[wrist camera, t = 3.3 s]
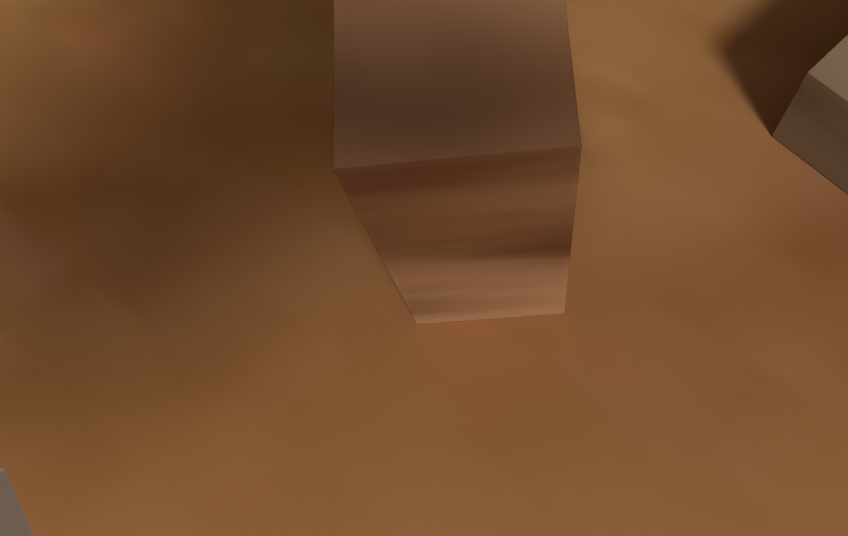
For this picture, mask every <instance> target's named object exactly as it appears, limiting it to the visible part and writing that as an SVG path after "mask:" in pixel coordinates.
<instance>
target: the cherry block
mask: <svg viewBox="0 0 848 536" xmlns="http://www.w3.org/2000/svg"><path fill="white" fill-rule="evenodd" d="M580 154H581V137H580V128H579V120H578V111H577V102H576V93H575V84H574V76H573V67H572V58H571V49H570V41H569V32H568V23H567V14H566V5H565V0H334V112H333V169H334V171H335V173H336V175H337V177H338V178H339V180H340V182H341V184H342V186H343V188H344V190H345V191H346V193H347V195H348V197H349V199H350V201H351V202H352V204H353V206H354V208H355V210H356V212H357V214H358V215H359V217H360V219H361V221H362V223H363V225H364V227H365V228H366V230H367V232H368V234H369V236H370V238H371V240H372V241H373V243H374V245H375V247H376V249H377V251H378V253H379V254H380V256H381V258H382V260H383V262H384V264H385V266H386V267H387V269H388V271H389V273H390V275H391V277H392V279H393V280H394V282H395V284H396V286H397V288H398V290H399V292H400V293H401V295H402V297H403V299H404V301H405V303H406V305H407V306H408V308H409V310H410V312H411V314H412V316H413V317H414V319H415V321H416V323H417V324H423V323H437V322H451V321H465V320H479V319H493V318H507V317H521V316H535V315H549V314H563V313H564V309H565V300H566V290H567V280H568V271H569V261H570V251H571V242H572V232H573V222H574V213H575V203H576V193H577V184H578V174H579V164H580Z"/></svg>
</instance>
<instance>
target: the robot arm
mask: <svg viewBox="0 0 848 536" xmlns="http://www.w3.org/2000/svg"><path fill="white" fill-rule="evenodd" d="M0 536H34V535H33V533H32V530H31V528H30V526H29V523H28V521H27V519H26V516H25V514H24V512H23V509H22V507H21V505H20V502H19V500H18V498H17V495H16V493H15V491H14V488H13V486H12V484H11V481H10V479H9V477H8V474H7V472H6V470H5V468H0Z"/></svg>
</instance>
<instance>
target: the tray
mask: <svg viewBox="0 0 848 536" xmlns="http://www.w3.org/2000/svg"><path fill="white" fill-rule="evenodd" d="M772 136H773V137H774V138H775V139H776V140H778V141H779V142H780V143H782V144H783V145H784V146H786V147H787V148H788V149H790V150H791V151H792V152H794V153H795V154H796V155H797V156H799V157H800V158H801V159H803V160H804V161H805V162H807V163H808V164H809V165H811V166H812V167H813V168H814V169H816V170H817V171H818V172H820V173H821V174H822V175H824V176H825V177H826V178H828V179H829V180H830V181H831V182H833V183H834V184H835V185H837V186H838V187H839V188H841V189H842V190H843V191H845V192H846V193H847V194H848V35H847V36H846V37H845V38H844V39H843V40H842V41H840V42H839V43H838V44H837V45H836V46H835V47H834V48H833V49H832V50H831V51H830V52H829V53H828V54H827V55H826V56H825V57H823V58H822V59H821V60H820V61H819V62H818V63H817V64H816V65H815V66H814V67H813V68H812V69H811V70H810V71H809V72H808V73H807V74H806V76H805V78H804V80H803V81H802V83H801V85H800V87H799V89H798V90H797V92H796V94H795V96H794V98H793V99H792V101H791V103H790V105H789V106H788V108H787V110H786V112H785V114H784V115H783V117H782V119H781V121H780V123H779V124H778V126H777V128H776V130H775V131H774V133H773V135H772Z"/></svg>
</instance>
